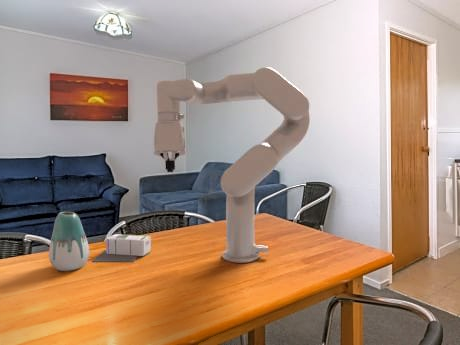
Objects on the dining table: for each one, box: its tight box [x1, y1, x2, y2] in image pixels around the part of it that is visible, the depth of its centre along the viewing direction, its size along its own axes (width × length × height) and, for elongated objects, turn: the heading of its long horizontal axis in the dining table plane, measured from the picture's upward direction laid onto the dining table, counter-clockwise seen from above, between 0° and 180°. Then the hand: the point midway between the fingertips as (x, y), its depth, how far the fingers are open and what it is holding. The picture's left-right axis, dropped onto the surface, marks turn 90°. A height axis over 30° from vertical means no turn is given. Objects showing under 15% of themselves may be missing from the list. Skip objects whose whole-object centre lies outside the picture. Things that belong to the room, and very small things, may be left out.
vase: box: [48, 211, 90, 272], centre depth 107 cm, size 12×12×18 cm
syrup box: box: [105, 233, 152, 257], centre depth 120 cm, size 6×6×14 cm
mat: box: [91, 249, 139, 263], centre depth 118 cm, size 14×11×1 cm
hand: (170, 171), depth 117 cm, fingers closed
